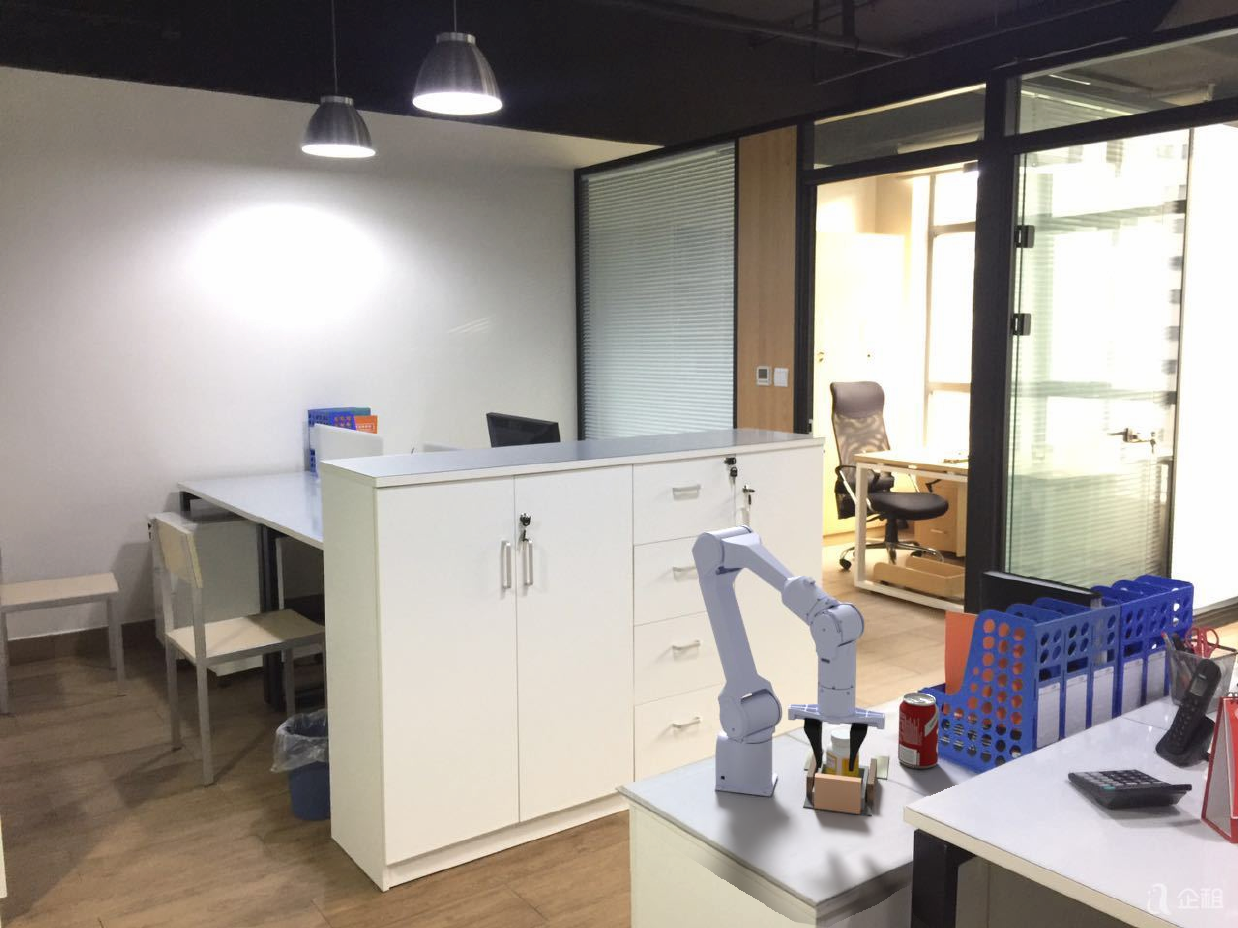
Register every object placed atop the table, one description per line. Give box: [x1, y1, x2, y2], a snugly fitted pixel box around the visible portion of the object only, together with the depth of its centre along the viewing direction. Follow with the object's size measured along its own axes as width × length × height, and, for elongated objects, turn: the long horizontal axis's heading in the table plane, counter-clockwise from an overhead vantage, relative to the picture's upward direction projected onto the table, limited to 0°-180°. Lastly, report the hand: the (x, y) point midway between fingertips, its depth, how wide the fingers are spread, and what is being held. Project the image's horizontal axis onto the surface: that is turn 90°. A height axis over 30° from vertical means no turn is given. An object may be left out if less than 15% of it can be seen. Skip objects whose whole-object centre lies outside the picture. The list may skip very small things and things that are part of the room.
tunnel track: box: [802, 747, 890, 817], centre depth 174 cm, size 14×23×4 cm, turn 163°
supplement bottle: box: [825, 728, 860, 778], centre depth 171 cm, size 5×5×10 cm
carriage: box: [812, 760, 870, 815], centre depth 169 cm, size 8×14×5 cm, turn 163°
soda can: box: [897, 692, 940, 770], centre depth 180 cm, size 7×7×12 cm
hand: (835, 766), depth 158 cm, fingers open, 4 cm apart
